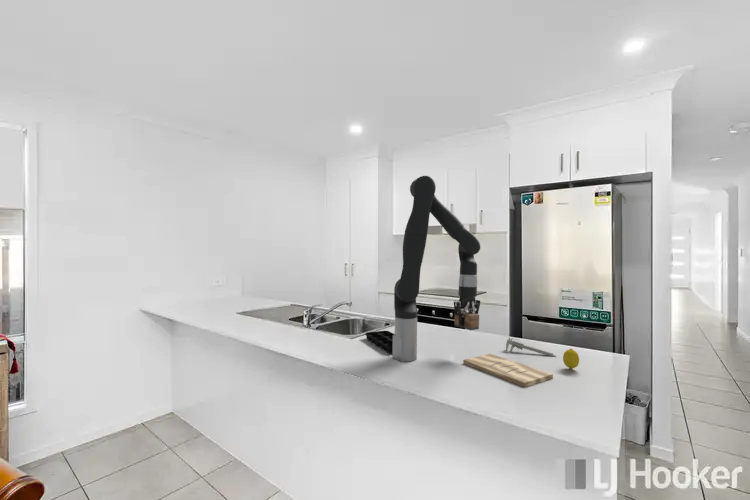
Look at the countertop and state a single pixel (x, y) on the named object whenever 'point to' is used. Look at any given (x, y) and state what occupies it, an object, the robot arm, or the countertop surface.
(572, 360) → the lemon
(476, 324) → the block
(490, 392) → the countertop surface
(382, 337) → the egg carton
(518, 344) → the caliper
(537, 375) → the plywood board
